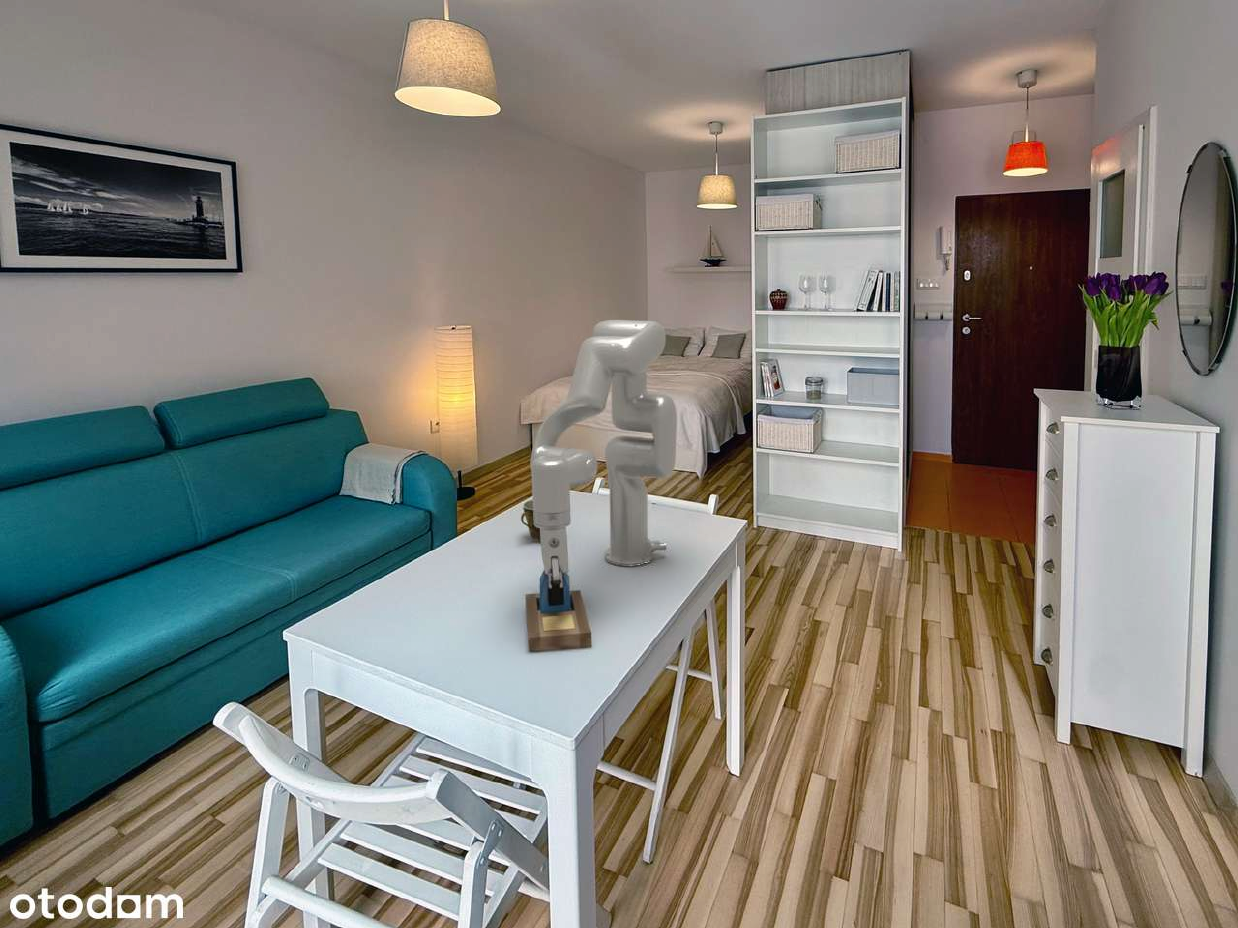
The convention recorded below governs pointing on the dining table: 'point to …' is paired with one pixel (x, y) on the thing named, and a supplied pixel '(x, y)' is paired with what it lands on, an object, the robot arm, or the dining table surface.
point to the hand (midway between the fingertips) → (554, 596)
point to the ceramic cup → (531, 521)
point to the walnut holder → (557, 625)
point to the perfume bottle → (544, 594)
